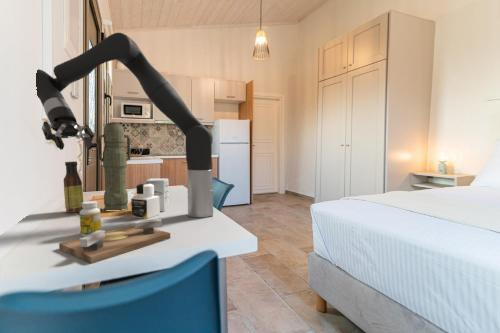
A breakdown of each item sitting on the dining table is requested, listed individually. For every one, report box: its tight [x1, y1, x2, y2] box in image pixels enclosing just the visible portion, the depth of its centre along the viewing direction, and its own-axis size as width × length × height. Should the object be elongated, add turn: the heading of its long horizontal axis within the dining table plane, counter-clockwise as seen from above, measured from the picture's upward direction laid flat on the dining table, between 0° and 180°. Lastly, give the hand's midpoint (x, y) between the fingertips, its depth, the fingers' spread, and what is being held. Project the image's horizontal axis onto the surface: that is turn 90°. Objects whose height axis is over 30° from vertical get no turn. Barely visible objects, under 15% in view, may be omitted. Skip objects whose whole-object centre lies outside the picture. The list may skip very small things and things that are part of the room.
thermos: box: [97, 122, 132, 211], centre depth 120 cm, size 9×12×35 cm
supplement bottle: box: [79, 200, 102, 237], centre depth 87 cm, size 5×5×10 cm
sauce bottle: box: [63, 161, 84, 214], centre depth 116 cm, size 7×6×20 cm
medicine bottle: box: [130, 183, 161, 220], centre depth 109 cm, size 7×7×12 cm
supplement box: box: [145, 178, 170, 213], centre depth 120 cm, size 7×7×13 cm
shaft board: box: [58, 218, 171, 264], centre depth 79 cm, size 16×23×5 cm
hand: (76, 147), depth 95 cm, fingers open, 8 cm apart
